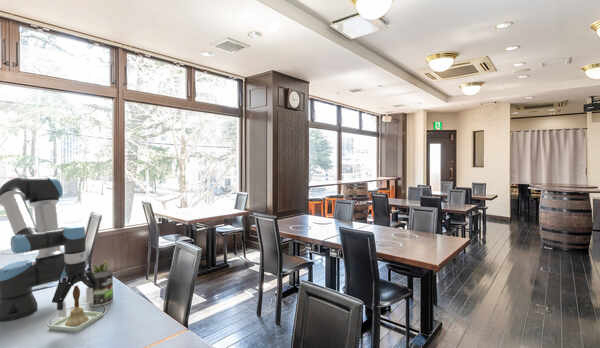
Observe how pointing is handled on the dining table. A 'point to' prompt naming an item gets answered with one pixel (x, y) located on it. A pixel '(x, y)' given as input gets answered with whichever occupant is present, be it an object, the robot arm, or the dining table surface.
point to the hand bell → (76, 311)
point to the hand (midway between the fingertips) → (76, 309)
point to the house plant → (100, 268)
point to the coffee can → (103, 288)
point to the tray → (62, 327)
